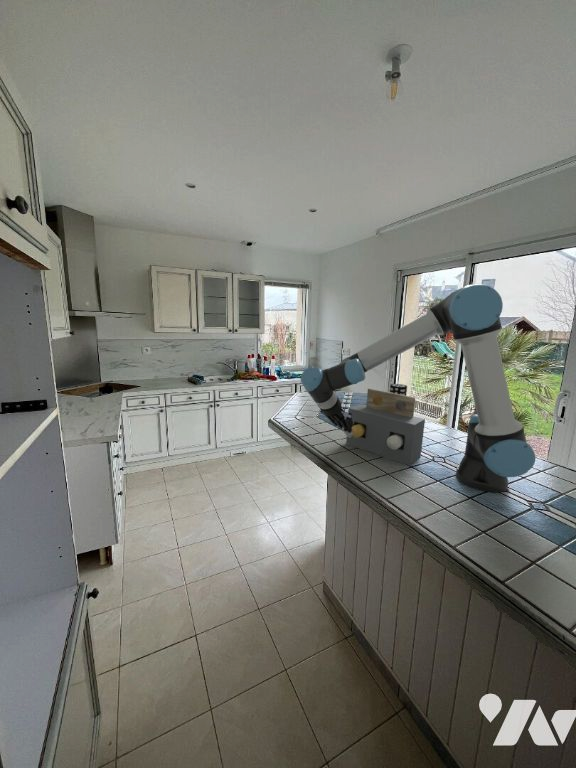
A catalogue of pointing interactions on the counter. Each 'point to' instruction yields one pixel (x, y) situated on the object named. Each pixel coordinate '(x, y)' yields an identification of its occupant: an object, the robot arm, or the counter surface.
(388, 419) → the console
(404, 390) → the black white block
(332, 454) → the counter surface
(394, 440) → the button ivory
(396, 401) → the placard
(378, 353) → the robot arm
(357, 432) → the button ochre
